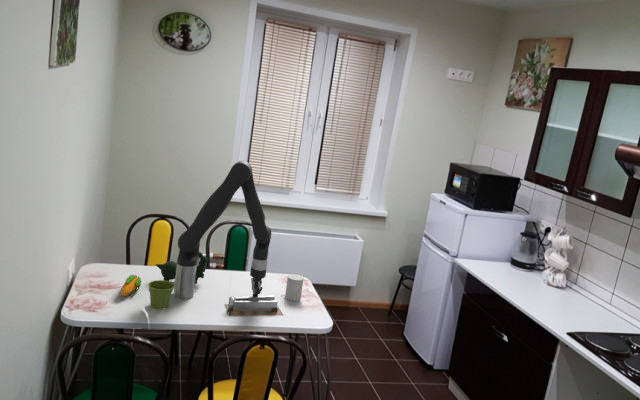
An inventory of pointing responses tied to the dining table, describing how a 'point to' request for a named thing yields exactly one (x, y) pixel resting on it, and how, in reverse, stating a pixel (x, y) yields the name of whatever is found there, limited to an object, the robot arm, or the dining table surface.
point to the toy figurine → (170, 267)
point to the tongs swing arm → (256, 298)
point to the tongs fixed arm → (252, 306)
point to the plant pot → (160, 293)
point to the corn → (131, 285)
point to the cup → (294, 287)
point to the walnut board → (253, 313)
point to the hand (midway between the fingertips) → (254, 300)
